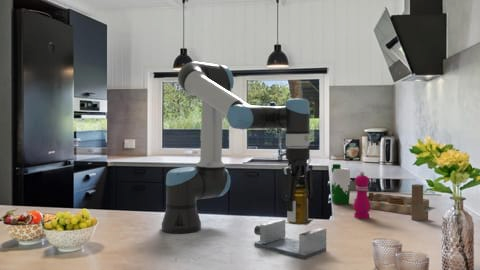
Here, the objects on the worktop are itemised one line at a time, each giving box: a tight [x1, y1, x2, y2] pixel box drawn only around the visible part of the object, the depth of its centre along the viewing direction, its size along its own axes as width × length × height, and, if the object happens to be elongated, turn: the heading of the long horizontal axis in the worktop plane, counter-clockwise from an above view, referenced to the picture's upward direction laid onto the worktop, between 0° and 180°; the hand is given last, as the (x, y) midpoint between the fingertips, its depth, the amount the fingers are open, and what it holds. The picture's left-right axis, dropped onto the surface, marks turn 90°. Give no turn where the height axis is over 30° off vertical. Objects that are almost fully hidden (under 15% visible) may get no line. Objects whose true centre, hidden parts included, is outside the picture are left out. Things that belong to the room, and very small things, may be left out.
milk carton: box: [330, 163, 351, 205], centre depth 215 cm, size 9×9×20 cm
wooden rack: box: [368, 192, 410, 206], centre depth 207 cm, size 18×20×6 cm
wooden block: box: [410, 183, 429, 222], centre depth 178 cm, size 7×3×15 cm, turn 117°
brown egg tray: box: [353, 193, 430, 215], centre depth 207 cm, size 27×25×4 cm
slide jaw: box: [253, 218, 286, 244], centre depth 143 cm, size 8×11×6 cm
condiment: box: [285, 183, 314, 226], centre depth 134 cm, size 7×8×12 cm
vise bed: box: [254, 227, 327, 260], centre depth 136 cm, size 20×12×7 cm, turn 47°
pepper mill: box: [352, 171, 372, 220], centre depth 182 cm, size 7×7×20 cm
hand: (297, 219), depth 133 cm, fingers closed on condiment, 6 cm apart
